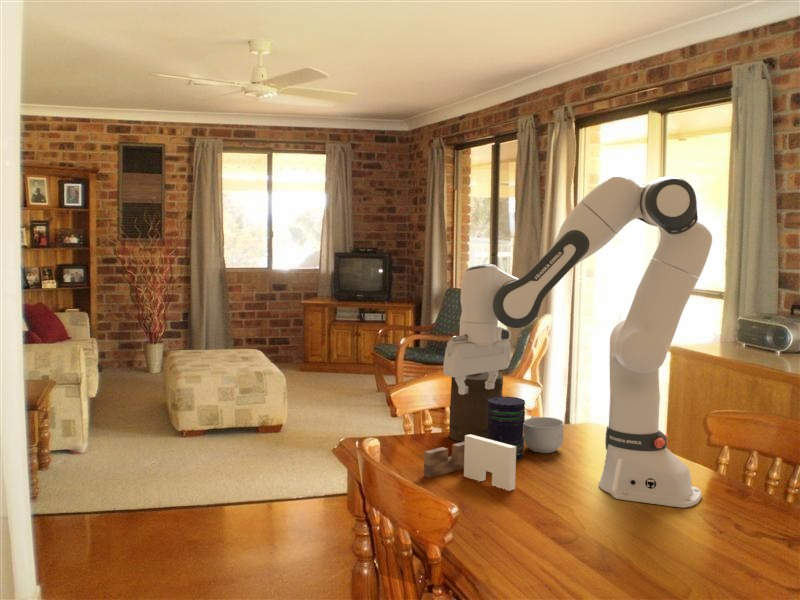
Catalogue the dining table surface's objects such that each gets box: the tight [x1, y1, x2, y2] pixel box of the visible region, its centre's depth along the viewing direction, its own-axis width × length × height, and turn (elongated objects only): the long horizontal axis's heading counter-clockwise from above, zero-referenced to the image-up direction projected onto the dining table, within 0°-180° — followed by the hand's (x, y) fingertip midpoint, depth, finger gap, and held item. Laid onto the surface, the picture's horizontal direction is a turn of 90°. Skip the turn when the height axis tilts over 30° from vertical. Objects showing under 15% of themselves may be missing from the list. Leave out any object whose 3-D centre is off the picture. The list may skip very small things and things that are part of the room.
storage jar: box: [486, 395, 526, 462], centre depth 213 cm, size 10×10×15 cm
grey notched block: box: [423, 441, 465, 479], centre depth 201 cm, size 16×2×6 cm, turn 133°
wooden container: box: [448, 372, 504, 442], centre depth 232 cm, size 15×15×22 cm
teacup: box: [523, 415, 565, 454], centre depth 222 cm, size 14×11×8 cm
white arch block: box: [463, 434, 517, 492], centre depth 192 cm, size 14×2×10 cm, turn 43°
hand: (476, 391), depth 194 cm, fingers open, 8 cm apart
